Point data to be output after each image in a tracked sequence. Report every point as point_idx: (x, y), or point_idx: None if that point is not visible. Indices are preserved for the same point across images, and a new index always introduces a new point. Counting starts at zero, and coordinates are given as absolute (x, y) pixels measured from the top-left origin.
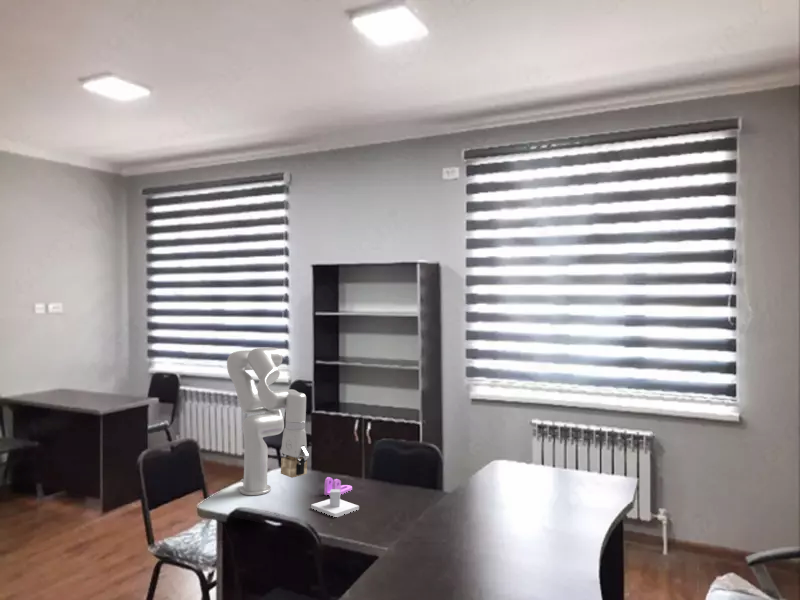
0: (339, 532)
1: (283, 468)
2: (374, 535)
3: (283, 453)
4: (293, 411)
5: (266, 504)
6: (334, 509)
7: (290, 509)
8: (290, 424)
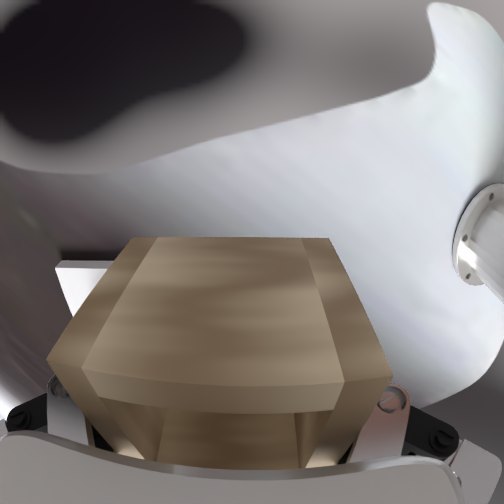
0: None
1: (290, 273)
2: None
3: (387, 464)
4: None
5: (375, 161)
6: (89, 292)
7: (240, 194)
8: None
